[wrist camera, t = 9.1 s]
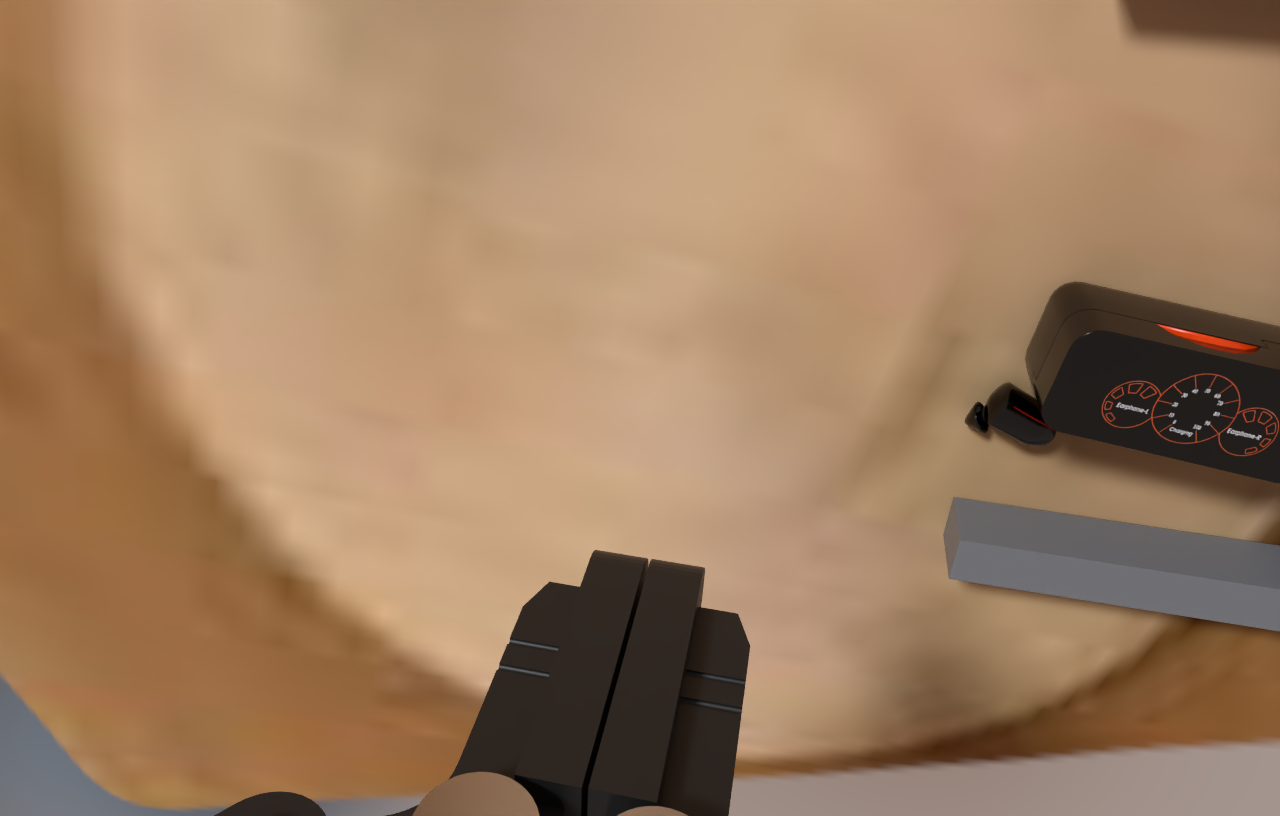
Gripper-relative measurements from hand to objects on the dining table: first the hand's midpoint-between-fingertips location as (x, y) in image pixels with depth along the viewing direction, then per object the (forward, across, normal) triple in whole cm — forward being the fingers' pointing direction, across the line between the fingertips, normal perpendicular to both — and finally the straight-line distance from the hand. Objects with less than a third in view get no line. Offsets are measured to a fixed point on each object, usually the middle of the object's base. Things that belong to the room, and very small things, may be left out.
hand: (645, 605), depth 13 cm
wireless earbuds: (+15, -10, +3) cm, 18 cm away
